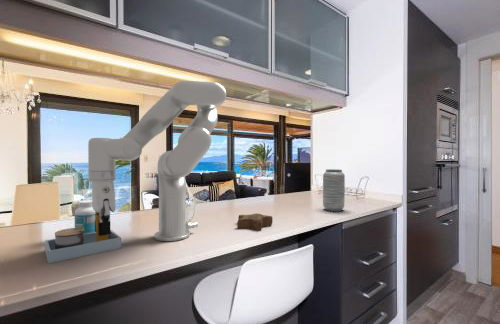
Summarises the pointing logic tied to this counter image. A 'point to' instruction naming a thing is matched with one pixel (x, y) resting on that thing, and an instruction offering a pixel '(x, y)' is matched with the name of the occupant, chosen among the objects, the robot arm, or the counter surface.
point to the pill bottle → (85, 217)
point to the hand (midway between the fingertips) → (102, 232)
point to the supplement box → (98, 238)
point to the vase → (333, 190)
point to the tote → (82, 247)
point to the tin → (69, 237)
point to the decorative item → (254, 221)
